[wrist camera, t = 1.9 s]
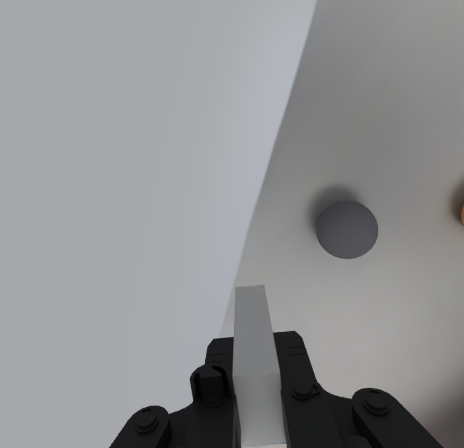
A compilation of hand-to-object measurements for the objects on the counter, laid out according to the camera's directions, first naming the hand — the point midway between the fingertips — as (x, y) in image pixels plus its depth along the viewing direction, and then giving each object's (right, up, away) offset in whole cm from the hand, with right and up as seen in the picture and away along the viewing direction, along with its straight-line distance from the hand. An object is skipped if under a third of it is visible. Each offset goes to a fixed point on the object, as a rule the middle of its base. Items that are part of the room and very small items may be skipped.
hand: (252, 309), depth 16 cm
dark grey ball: (+10, +4, +13) cm, 17 cm away
